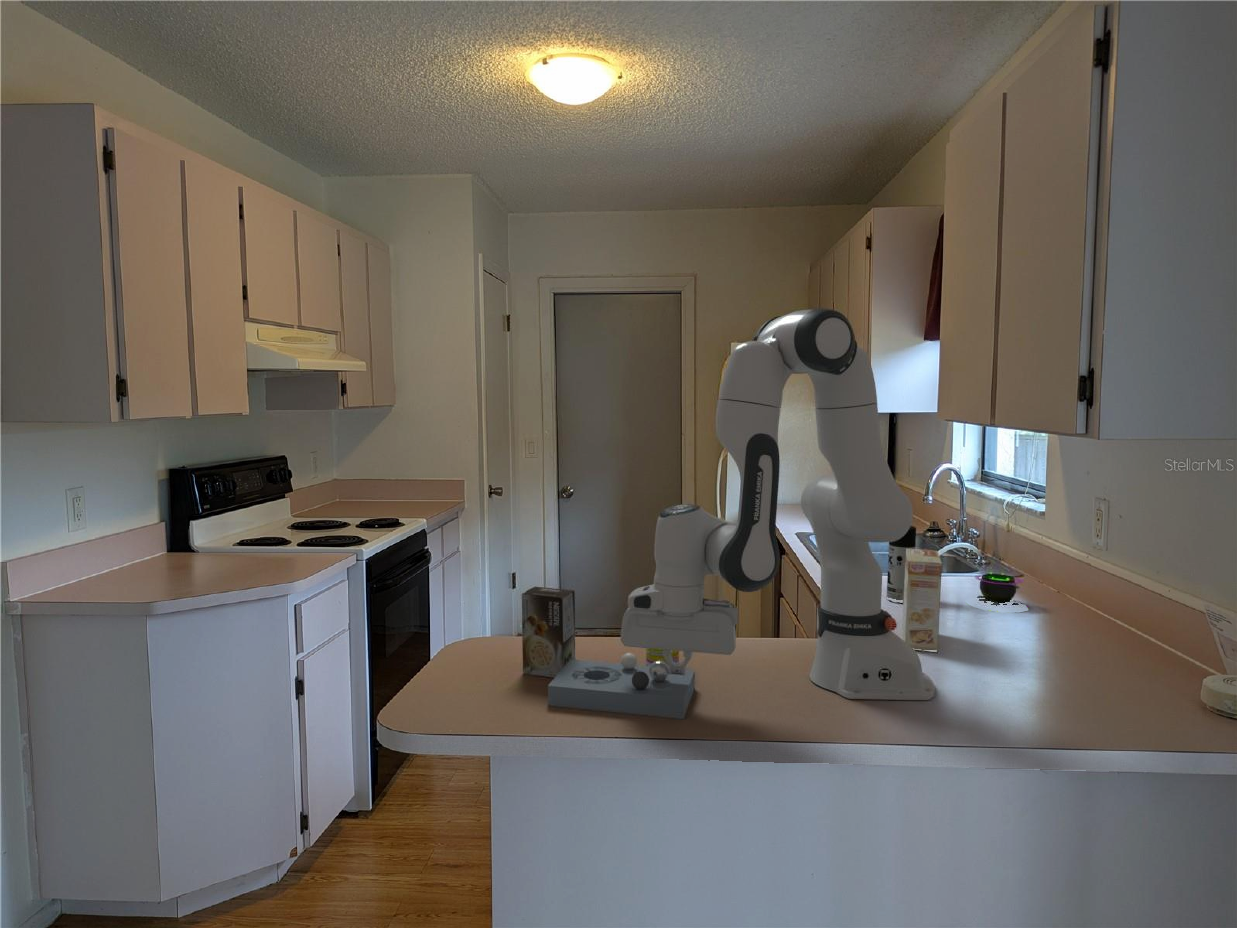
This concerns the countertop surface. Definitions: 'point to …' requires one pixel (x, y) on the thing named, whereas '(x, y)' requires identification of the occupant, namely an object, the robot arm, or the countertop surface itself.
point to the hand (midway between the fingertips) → (677, 673)
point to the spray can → (899, 564)
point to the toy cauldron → (997, 588)
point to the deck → (620, 690)
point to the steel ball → (659, 671)
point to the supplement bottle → (659, 656)
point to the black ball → (640, 680)
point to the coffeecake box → (922, 599)
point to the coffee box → (547, 630)
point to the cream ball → (628, 661)
